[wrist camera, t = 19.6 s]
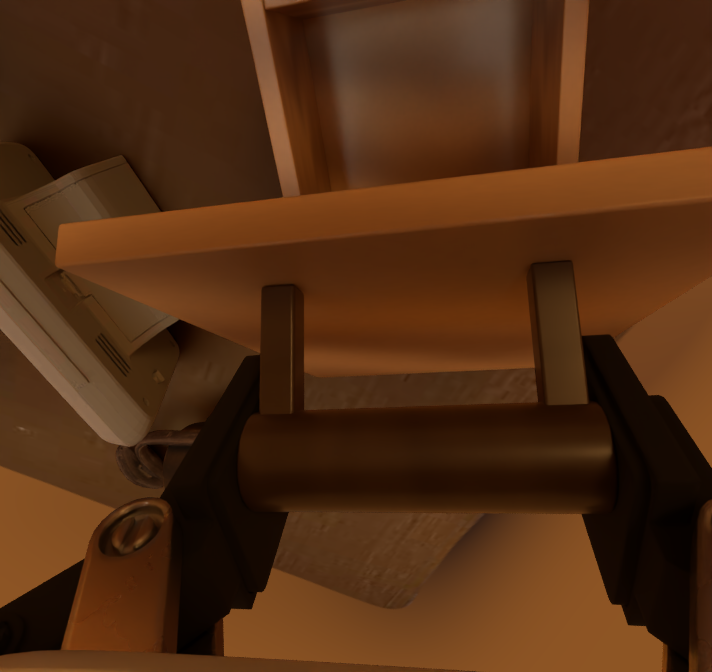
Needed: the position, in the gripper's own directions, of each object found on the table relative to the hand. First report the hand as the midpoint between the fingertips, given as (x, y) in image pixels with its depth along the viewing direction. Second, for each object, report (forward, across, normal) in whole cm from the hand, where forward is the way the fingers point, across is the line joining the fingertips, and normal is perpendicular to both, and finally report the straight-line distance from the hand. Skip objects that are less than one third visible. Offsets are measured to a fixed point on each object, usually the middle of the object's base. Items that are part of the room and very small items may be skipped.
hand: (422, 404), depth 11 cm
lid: (+5, 0, 0) cm, 5 cm away
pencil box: (+18, 0, -2) cm, 18 cm away
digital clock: (+18, +19, +1) cm, 26 cm away
